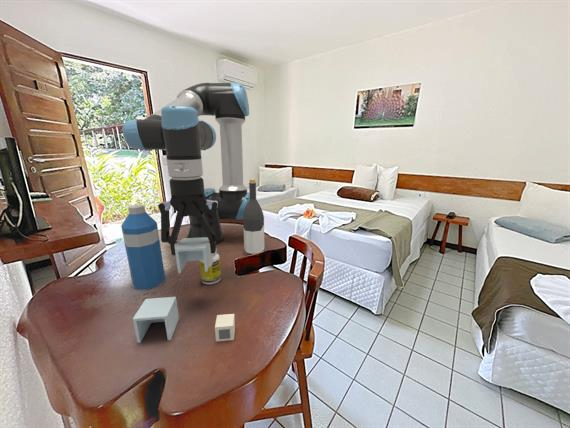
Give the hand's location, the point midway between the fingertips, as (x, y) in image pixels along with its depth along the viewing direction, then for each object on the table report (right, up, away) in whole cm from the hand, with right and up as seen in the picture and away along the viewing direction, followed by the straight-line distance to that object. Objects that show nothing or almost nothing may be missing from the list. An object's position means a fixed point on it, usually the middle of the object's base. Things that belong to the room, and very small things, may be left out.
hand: (195, 264), depth 64 cm
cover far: (0, 0, 0) cm, 0 cm away
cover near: (-6, -14, -6) cm, 17 cm away
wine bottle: (+11, -3, +35) cm, 36 cm away
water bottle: (-20, -8, +14) cm, 26 cm away
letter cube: (+10, -15, -7) cm, 19 cm away
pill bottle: (0, -8, +15) cm, 17 cm away
